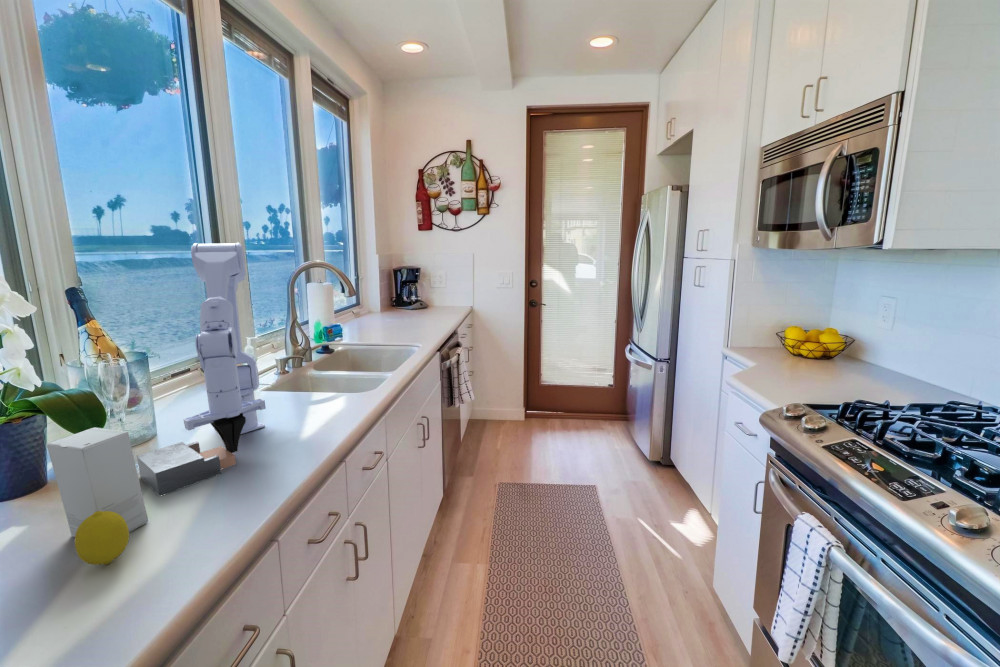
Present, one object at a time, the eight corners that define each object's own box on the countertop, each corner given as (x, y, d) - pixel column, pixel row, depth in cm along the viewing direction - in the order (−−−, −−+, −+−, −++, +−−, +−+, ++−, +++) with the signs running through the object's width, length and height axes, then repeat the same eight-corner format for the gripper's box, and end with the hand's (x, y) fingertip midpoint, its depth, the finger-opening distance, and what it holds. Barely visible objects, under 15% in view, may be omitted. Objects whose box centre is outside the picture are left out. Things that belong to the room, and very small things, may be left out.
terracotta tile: (153, 479, 87) (151, 468, 86) (222, 456, 96) (220, 446, 95) (165, 491, 82) (163, 479, 82) (236, 465, 91) (234, 454, 91)
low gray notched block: (140, 476, 87) (136, 455, 86) (199, 457, 94) (196, 437, 93) (159, 496, 80) (155, 473, 79) (221, 473, 87) (218, 452, 86)
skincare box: (149, 522, 72) (132, 430, 69) (102, 548, 66) (81, 449, 63) (114, 513, 75) (96, 424, 72) (65, 537, 69) (44, 441, 66)
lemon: (103, 580, 59) (91, 526, 58) (70, 575, 60) (57, 521, 59) (143, 553, 65) (134, 502, 63) (112, 548, 66) (102, 498, 64)
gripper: (189, 402, 83) (199, 470, 86) (269, 383, 94) (276, 443, 97) (176, 395, 88) (186, 460, 90) (253, 377, 99) (261, 435, 101)
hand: (232, 451), depth 94 cm, fingers closed
